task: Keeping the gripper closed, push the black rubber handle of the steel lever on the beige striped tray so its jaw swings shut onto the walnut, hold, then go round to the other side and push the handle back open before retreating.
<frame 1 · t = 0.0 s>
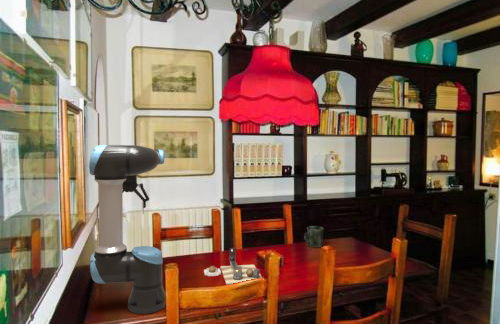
hand: (129, 214, 185), 28 cm above the table, fingers open, 13 cm apart
walnut: (251, 276, 170), point 2 cm above the table, tilted 20°, touching beige striped tray
lever: (236, 262, 174), point 7 cm above the table, hinge at 0.0°
mug: (313, 246, 228), on the table
dish: (212, 274, 175), on the table
beige striped tray: (241, 276, 174), on the table
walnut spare: (212, 273, 175), point 1 cm above the table, touching dish
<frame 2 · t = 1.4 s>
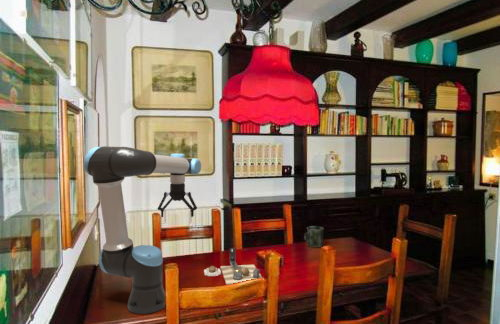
hand: (177, 223, 183), 24 cm above the table, fingers open, 13 cm apart
walnut: (249, 272, 170), point 3 cm above the table, tilted 92°, touching beige striped tray
everything else where it was.
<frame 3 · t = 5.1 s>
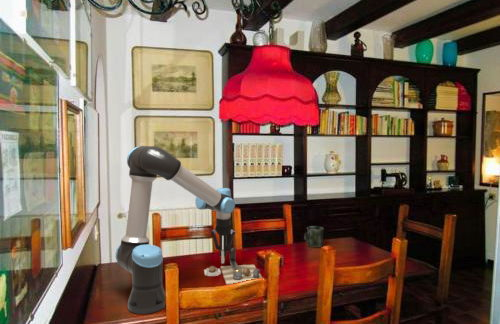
hand: (222, 262, 182), 4 cm above the table, fingers closed
walnut: (249, 273, 170), point 3 cm above the table, tilted 78°, touching beige striped tray
lever: (236, 262, 174), point 7 cm above the table, hinge at 0.0°, touching gripper, hand
everything else where it was.
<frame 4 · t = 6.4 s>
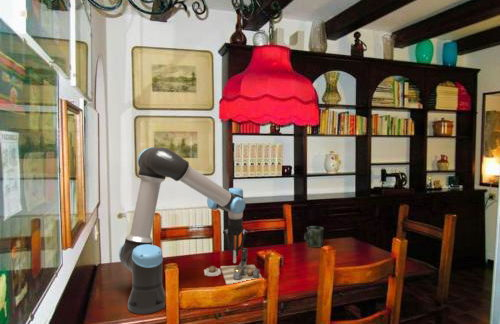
hand: (234, 262, 183), 4 cm above the table, fingers closed
walnut: (251, 275, 170), point 2 cm above the table, tilted 27°, touching beige striped tray
lever: (242, 263, 174), point 7 cm above the table, hinge at -22.2°, touching gripper
everything else where it was.
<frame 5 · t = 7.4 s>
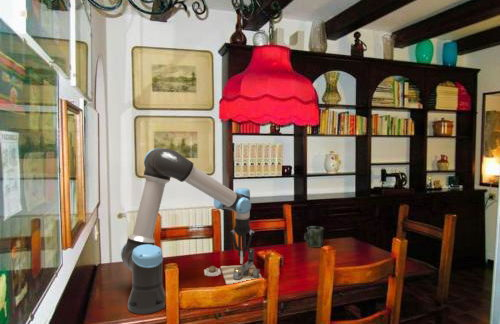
hand: (241, 262, 182), 4 cm above the table, fingers closed
walnut: (251, 276, 170), point 2 cm above the table, tilted 19°, touching beige striped tray, lever
lever: (245, 263, 173), point 7 cm above the table, hinge at -35.4°, touching gripper, walnut
everything else where it was.
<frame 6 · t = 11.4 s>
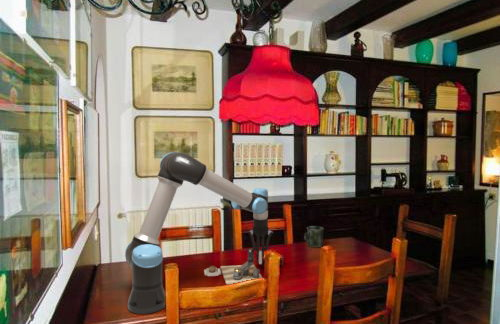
hand: (260, 263, 181), 4 cm above the table, fingers closed
lever: (245, 263, 173), point 7 cm above the table, hinge at -35.1°, touching gripper, walnut
everything else where it was.
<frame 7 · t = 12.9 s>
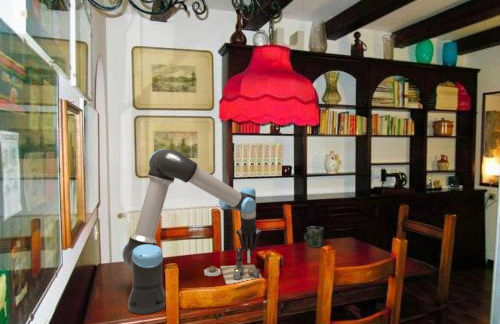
hand: (248, 262, 182), 4 cm above the table, fingers closed
walnut: (251, 275, 170), point 2 cm above the table, tilted 22°, touching beige striped tray
lever: (239, 262, 174), point 7 cm above the table, hinge at -13.3°, touching gripper
everything else where it was.
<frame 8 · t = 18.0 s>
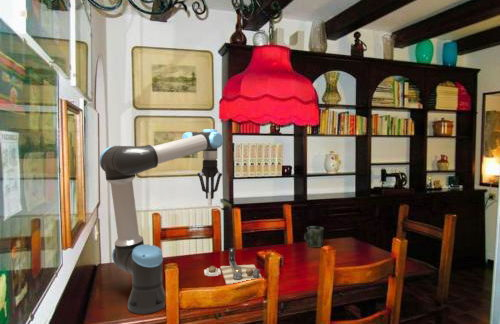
hand: (209, 205, 179), 34 cm above the table, fingers closed
walnut: (251, 275, 170), point 2 cm above the table, tilted 45°, touching beige striped tray
lever: (235, 262, 174), point 7 cm above the table, hinge at 1.0°
everything else where it was.
at the end: lever at +1° (first picture: +0°); walnut 0.4 cm from the target spot, point 2.0 cm above the table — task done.
